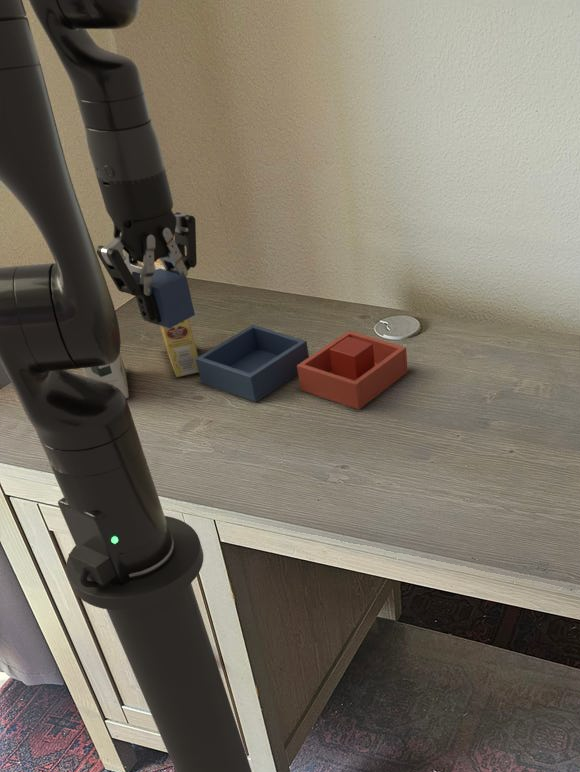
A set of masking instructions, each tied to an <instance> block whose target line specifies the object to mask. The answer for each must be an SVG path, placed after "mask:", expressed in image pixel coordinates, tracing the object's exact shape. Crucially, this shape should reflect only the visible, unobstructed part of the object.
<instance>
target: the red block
mask: <svg viewBox="0 0 580 772" xmlns="http://www.w3.org/2000/svg"><path fill="white" fill-rule="evenodd" d="M330 355H331V362H332V370H333V374H335V375H338V376H341V377H345V378H348V379H351V380H354V381H355V380H357V379H358V378H359V377H361V376H362V375H363V374H365V373H366V372H368V371H369V370H370V369H372V368H373V367H374V366H375V363H374V352H373V344H371V343H368V342H365V341H361V340H358V339H355V338H351V337H347V338H345V339H344V340H342V341H341V342H339V343H338V344H336V345H335V346H333V347H332V348H331V349H330Z"/></svg>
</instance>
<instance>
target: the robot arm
mask: <svg viewBox="0 0 580 772" xmlns="http://www.w3.org/2000/svg"><path fill="white" fill-rule="evenodd" d="M28 2H29V5H30V6H31V8H32V11H33V12H34V14H35V16H36V18H37V21H38V22H39V23H40V25H41V27H42V29H43V31H44V33H45V34H46V36H47V38H48V39H49V42H50V43H51V45H52V47H53V49H54V51H55V53H56V55H57V57H58V59H59V61H60V62H61V65H62V66H63V69H64V71H65V72H66V74H67V76H68V78H69V80H70V83H71V85H72V88H73V91H74V92H73V93H74V96H75V99H76V103H77V106H78V109H79V113H80V116H81V120H82V123H83V126H84V130H85V131H84V132H85V137H86V143H87V149H88V152H89V156H90V160H91V163H92V165H93V166H92V167H93V169H94V173H95V176H96V180H97V183H98V186H99V190H100V193H101V197H102V200H103V203H104V208H105V210H106V213H107V214H108V216H109V218H110V219H111V221H112V223H113V239H112V240H111V241H110V242H109V243H108V244H106V246H105V245H102V244H101V245H98V246H97V248H95V246H94V244H93V243H94V242H93V240H92V237H91V234H90V232H89V231H90V230H89V228H88V225H87V222H86V220H85V216H84V214H83V212H82V208H81V205H80V203H79V200H78V197H77V194H76V191H75V187H74V184H73V180H72V177H71V174H70V170H69V168H68V163H67V159H66V157H65V153H64V149H63V146H62V142H61V138H60V135H59V130H58V126H57V122H56V119H55V115H54V111H53V107H52V102H51V100H50V95H49V92H48V91H49V90H48V88H47V83H46V79H45V76H44V72H43V67H42V64H41V61H40V57H39V53H38V49H37V46H36V43H35V40H34V36H33V32H32V30H31V26H30V23H29V18H28V17H27V12H26V8H25V5H24V2H23V0H0V182H1V183H2V184H3V185H4V186H5V187H6V188H7V189H8V190H9V191H10V192H11V194H12V195H13V196H14V197H15V198H16V200H17V201H18V202H19V203H20V205H21V206H22V207H23V208H24V209H25V211H26V213H27V215H29V217H30V218H31V219H32V220H33V222H34V224H35V225H36V227H37V229H38V231H39V232H40V233H41V236H42V237H43V240H44V241H45V243H46V245H47V247H48V249H49V252H50V254H51V256H52V258H53V260H54V262H53V263H52V262H51V263H38V264H28V265H27V264H26V265H14V266H3V267H0V363H1V366H2V368H3V369H4V372H5V373H6V375H7V377H8V379H9V381H10V383H11V385H12V387H13V389H14V391H15V393H16V395H17V397H18V400H19V402H20V404H21V407H22V409H23V411H24V413H25V415H26V417H27V419H28V421H29V422H30V424H31V425H32V427H33V428H34V430H35V432H36V435H37V437H38V439H39V442H40V444H41V446H42V449H43V451H44V454H45V456H46V458H47V460H48V463H49V466H50V468H51V470H52V472H53V476H54V477H55V480H56V482H57V484H58V487H59V489H60V492H61V494H62V498H60V499H59V500H58V501H57V505H58V507H59V510H60V512H61V514H62V517H63V519H64V522H65V524H66V526H67V528H68V532H69V534H70V535H71V537H72V540H73V542H74V544H75V545H74V546H76V547H77V549H75V550H74V551H72V550H71V551H72V552H71V551H70V552H69V553H68V554H67V555H68V557H70V560H71V562H72V564H73V566H74V569H75V571H76V572H77V573H79V574H81V575H80V582H81V584H82V585H83V586H85V587H98V586H99V584H101V585H105V584H106V583H107V582H109V581H110V580H111V581H113V582H115V583H117V584H119V585H125V584H126V583H128V582H129V581H131V580H135V579H140V578H143V577H146V576H149V575H151V574H153V573H155V572H157V571H159V570H160V569H162V568H163V567H164V566H165V565H166V564H167V563H168V562H169V561H170V560H171V559H172V557H173V555H174V552H175V543H174V540H173V537H172V535H171V533H170V531H169V527H168V525H167V522H166V518H165V516H166V515H165V513H164V510H163V507H162V503H161V500H160V498H159V495H158V491H157V489H156V484H155V482H154V479H153V476H152V473H151V470H150V467H149V464H148V461H147V458H146V455H145V451H144V449H143V445H142V443H141V440H140V437H139V434H138V429H137V427H136V425H135V420H134V419H133V415H132V412H131V409H130V405H129V403H128V400H127V398H125V396H124V394H123V393H122V392H121V391H120V390H119V389H118V388H117V387H115V386H113V385H112V384H109V383H107V382H104V381H101V380H97V379H92V378H88V377H86V376H85V375H81V374H79V373H75V372H72V371H70V370H77V369H83V368H88V367H96V366H104V365H108V364H111V363H113V362H115V361H116V360H117V358H118V356H119V354H121V345H122V343H121V342H122V340H121V330H120V325H119V320H118V316H117V313H116V312H117V311H116V308H115V305H114V302H113V298H112V296H111V292H110V290H109V286H108V284H107V280H106V278H105V274H104V272H103V271H104V270H103V269H102V266H101V263H102V265H103V267H104V268H105V270H106V271H107V273H108V275H109V276H110V278H111V280H112V281H113V283H114V285H115V287H116V289H117V290H118V291H119V292H121V293H124V294H128V295H131V296H134V297H135V299H136V302H137V307H138V308H139V312H140V313H139V314H140V316H141V317H142V318H144V319H146V320H147V321H146V322H148V323H151V324H154V325H157V324H158V323H160V322H161V317H160V314H159V310H158V306H157V303H156V299H155V296H154V294H153V293H152V275H154V273H155V268H154V262H155V261H157V260H158V259H159V260H161V262H162V263H163V265H164V267H165V269H166V270H167V271H170V272H174V273H177V274H181V275H184V276H186V280H187V284H188V288H189V289H190V287H189V282H188V278H187V276H188V273H189V271H190V269H191V268H195V267H196V266H197V263H198V261H197V228H196V225H197V224H196V223H197V222H196V218H195V216H193V215H190V214H187V213H183V212H178V211H176V212H173V210H172V209H173V207H174V200H173V196H172V191H171V188H170V184H169V179H168V175H167V171H166V167H165V163H164V159H163V154H162V150H161V146H160V142H159V139H158V135H157V134H156V133H157V132H156V130H155V128H154V126H153V122H152V119H151V114H150V110H149V109H150V108H149V106H148V102H147V97H146V93H145V91H144V85H143V81H142V76H141V73H140V71H139V68H138V66H137V64H136V62H134V61H133V60H132V59H131V58H129V57H127V56H125V55H122V54H119V53H116V52H111V51H109V50H107V49H104V48H102V47H101V46H99V45H98V44H97V43H96V42H95V40H94V39H93V37H92V36H91V35H90V33H89V32H88V30H121V29H125V28H127V27H129V26H130V25H131V24H132V23H133V22H134V21H135V19H137V16H138V14H139V11H140V5H141V0H28ZM123 251H124V252H125V255H124V252H123ZM99 259H100V261H101V263H100V261H99ZM141 262H143V265H142V264H139V263H141ZM140 277H141V283H140ZM190 296H191V294H190ZM191 297H192V296H191ZM144 319H143V320H144ZM87 578H89V579H91V580H93V581H88V580H87Z"/></svg>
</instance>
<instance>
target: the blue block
mask: <svg viewBox="0 0 580 772" xmlns="http://www.w3.org/2000/svg"><path fill="white" fill-rule="evenodd" d="M186 278H187V277H186V276H184V275H181V274H177V273H174V272H170V271H167V270H163V269H160V268H159V269H157V270H155V273H154V275H152V293H153V294H154V296H155V299H156V303H157V306H158V310H159V314H160V317H161V322H160V323H158V324H156V325H157V326H159V325H160V326H163V327H166V328H171V327H173V326H175V325H177V324H179V323H181V322H183V321H184V320H186V319H188V318H189V319H190V318H192V317H194V316H195V315H196V313H195V308H194V305H193V301H192V296H190V295H191V292H190V287H189V288H188V286H189V283H188V284H187V282H188V279H187V280H186ZM140 283H141V276H140ZM142 318H143V317H142ZM143 321H145V322H148V321H147V320H146V319H144V318H143Z"/></svg>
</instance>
